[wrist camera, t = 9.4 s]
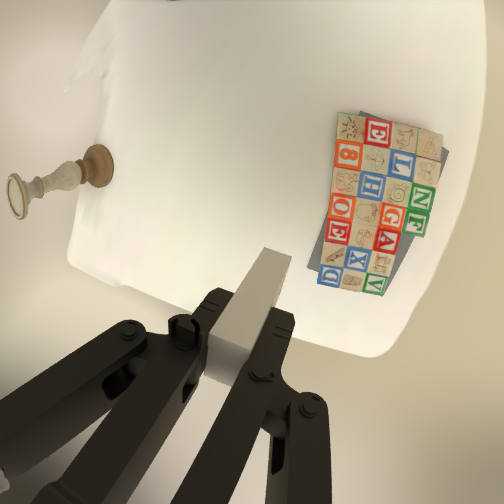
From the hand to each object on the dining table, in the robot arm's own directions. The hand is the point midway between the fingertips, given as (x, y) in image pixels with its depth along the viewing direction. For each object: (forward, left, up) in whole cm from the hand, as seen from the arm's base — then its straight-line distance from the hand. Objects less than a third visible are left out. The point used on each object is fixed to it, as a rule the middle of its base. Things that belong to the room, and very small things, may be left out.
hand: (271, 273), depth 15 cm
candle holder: (+8, -40, -25) cm, 48 cm away
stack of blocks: (+1, +2, -21) cm, 21 cm away
